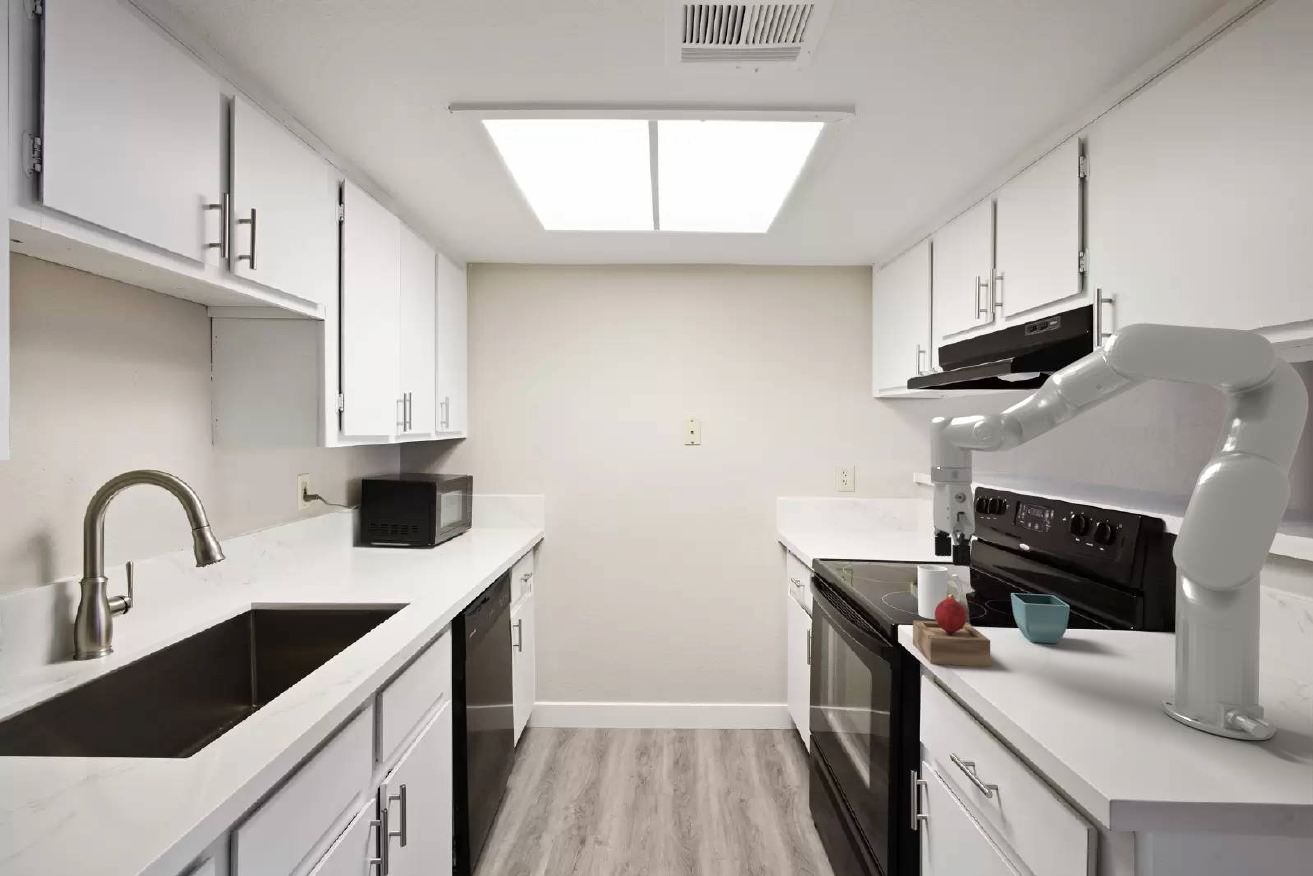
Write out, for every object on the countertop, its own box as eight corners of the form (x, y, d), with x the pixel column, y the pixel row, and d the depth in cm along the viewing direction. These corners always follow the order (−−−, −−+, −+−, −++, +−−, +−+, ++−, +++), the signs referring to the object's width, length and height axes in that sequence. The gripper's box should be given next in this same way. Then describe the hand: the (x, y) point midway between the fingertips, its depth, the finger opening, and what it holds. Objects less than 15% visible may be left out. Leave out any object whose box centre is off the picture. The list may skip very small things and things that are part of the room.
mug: (916, 617, 144) (916, 568, 144) (918, 610, 150) (918, 563, 150) (962, 624, 139) (962, 573, 139) (962, 616, 145) (962, 568, 145)
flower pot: (1024, 645, 125) (1024, 603, 125) (1009, 631, 134) (1009, 592, 134) (1070, 648, 123) (1071, 606, 123) (1053, 634, 132) (1053, 595, 132)
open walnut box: (990, 666, 113) (990, 640, 113) (930, 663, 114) (930, 638, 114) (966, 646, 124) (967, 622, 124) (912, 643, 125) (913, 620, 125)
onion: (970, 640, 116) (970, 599, 116) (938, 637, 117) (939, 597, 117) (961, 630, 122) (961, 592, 121) (931, 628, 123) (931, 590, 123)
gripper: (989, 479, 110) (990, 570, 110) (954, 474, 127) (955, 553, 127) (947, 479, 111) (948, 569, 111) (918, 474, 128) (918, 552, 128)
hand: (952, 560), depth 119 cm, fingers open, 9 cm apart
